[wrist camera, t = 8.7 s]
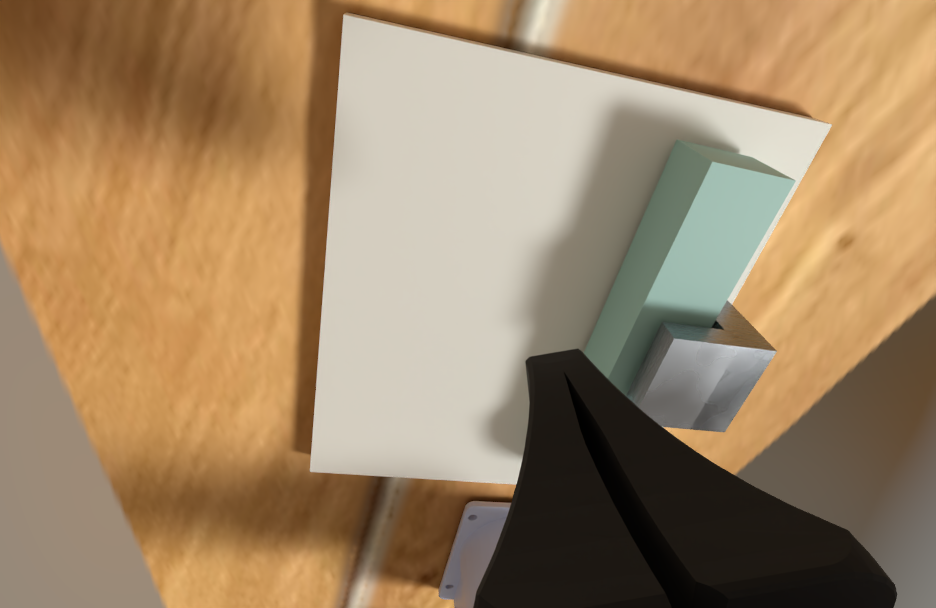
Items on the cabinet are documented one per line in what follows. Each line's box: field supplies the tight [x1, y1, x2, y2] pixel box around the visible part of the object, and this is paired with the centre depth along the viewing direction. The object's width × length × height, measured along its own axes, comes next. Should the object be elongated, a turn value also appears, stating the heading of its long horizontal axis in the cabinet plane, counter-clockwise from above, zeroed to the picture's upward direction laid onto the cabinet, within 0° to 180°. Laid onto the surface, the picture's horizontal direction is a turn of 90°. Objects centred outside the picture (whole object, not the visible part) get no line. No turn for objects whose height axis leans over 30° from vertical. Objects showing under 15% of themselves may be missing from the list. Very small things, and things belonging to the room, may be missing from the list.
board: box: [310, 13, 832, 484], centre depth 22 cm, size 20×17×1 cm
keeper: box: [626, 300, 777, 432], centre depth 21 cm, size 4×4×5 cm
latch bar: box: [584, 139, 796, 396], centre depth 21 cm, size 17×4×4 cm, turn 167°
